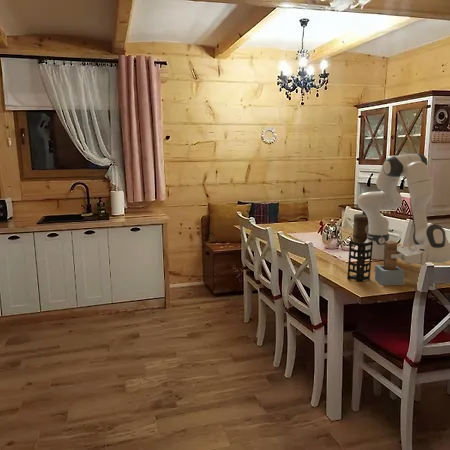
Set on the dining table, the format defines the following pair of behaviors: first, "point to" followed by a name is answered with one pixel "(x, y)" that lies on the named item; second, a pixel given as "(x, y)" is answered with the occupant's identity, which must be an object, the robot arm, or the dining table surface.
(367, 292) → the dining table surface
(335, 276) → the dining table surface
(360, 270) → the holder
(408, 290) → the dining table surface
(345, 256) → the dining table surface
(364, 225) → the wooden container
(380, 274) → the box
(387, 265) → the peg
